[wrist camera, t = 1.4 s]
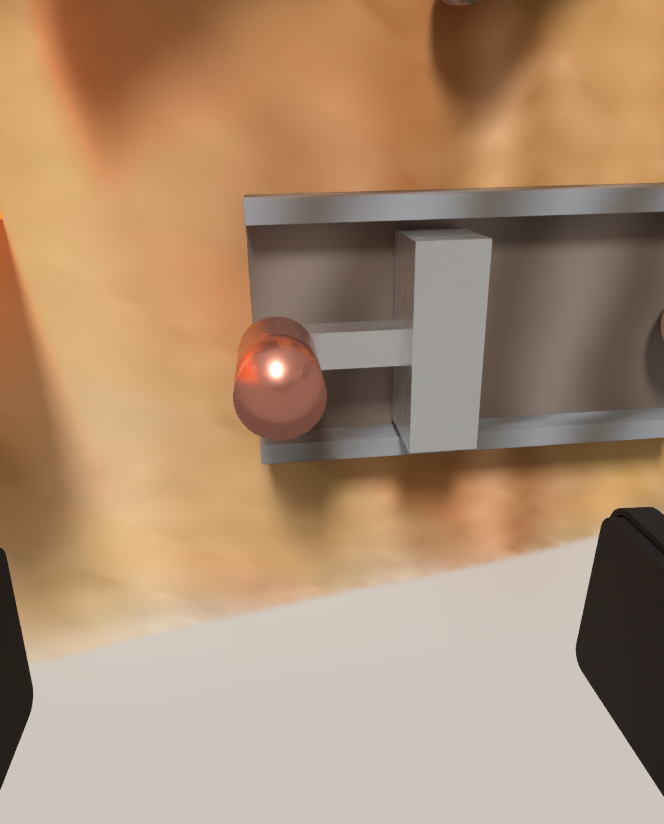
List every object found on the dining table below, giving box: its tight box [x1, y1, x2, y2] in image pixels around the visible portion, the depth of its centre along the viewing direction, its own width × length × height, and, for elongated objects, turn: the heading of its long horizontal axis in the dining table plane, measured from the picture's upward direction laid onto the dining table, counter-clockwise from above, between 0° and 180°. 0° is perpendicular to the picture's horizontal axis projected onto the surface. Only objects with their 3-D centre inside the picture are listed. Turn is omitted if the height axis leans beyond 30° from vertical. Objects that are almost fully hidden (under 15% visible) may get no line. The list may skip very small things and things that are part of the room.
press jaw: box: [233, 227, 492, 453], centre depth 25 cm, size 10×9×8 cm
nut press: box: [243, 183, 664, 464], centre depth 28 cm, size 25×12×8 cm, turn 91°
